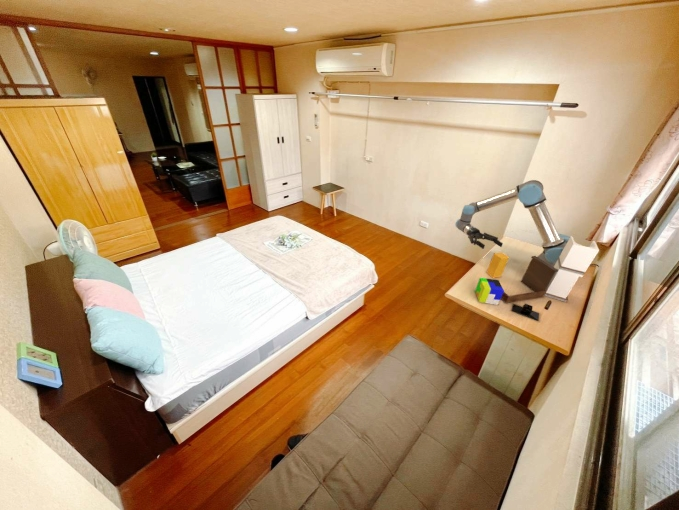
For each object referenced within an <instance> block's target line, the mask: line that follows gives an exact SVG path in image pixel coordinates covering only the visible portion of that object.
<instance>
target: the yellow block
mask: <svg viewBox="0 0 679 510" xmlns="http://www.w3.org/2000/svg"><path fill="white" fill-rule="evenodd" d="M509 259H510V257H509V256H508V255H507V254H505V253H503V252H495V253H493V254H492V258H491V261H490V263H489V265H488V268H487V270H486V274H488V276H490V277H491V278H492V279H495V278H501V277H502V275H503V273H504V270H505V268H506V265H507V264H508V261H509Z"/></svg>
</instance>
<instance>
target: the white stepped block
mask: <svg viewBox="0 0 679 510" xmlns="http://www.w3.org/2000/svg"><path fill="white" fill-rule="evenodd" d="M569 237H570V238H569V240H568V242H567V244H566V246H565V247H564V249H563V251H562V253H561V255H560V256H559V258H558V260H557V262H556V264H555V266H554V268H556V269H557V270H559V271H558V272H556V273H555V275H554V277H553V279H552V280H551V282H550V284H549V286H548V287H547V289H546V293H545V295H544V296H545V297H549V298H552V299H555V300H559V301H562V302H565V303H567V302H568V300H569V298H568V296H569V294H570V292H571V291H572V289H573V288H574V286H575V284H576V283H577V281H578V280H579V278H583V276H584V275H585V273H586V272H587V270H588V268H589V267H590V266H591V265H590V264H592V262H593V261H594V259H595V258H596V256H597V255H598V253H599V251H600V248H599V246H598V244H597V242H596V240H592V242H591V243H590V245H589V246H586V245H583V244H580V243H578V242H576V241H575V238H574V236H573V235H570V236H569Z"/></svg>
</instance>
